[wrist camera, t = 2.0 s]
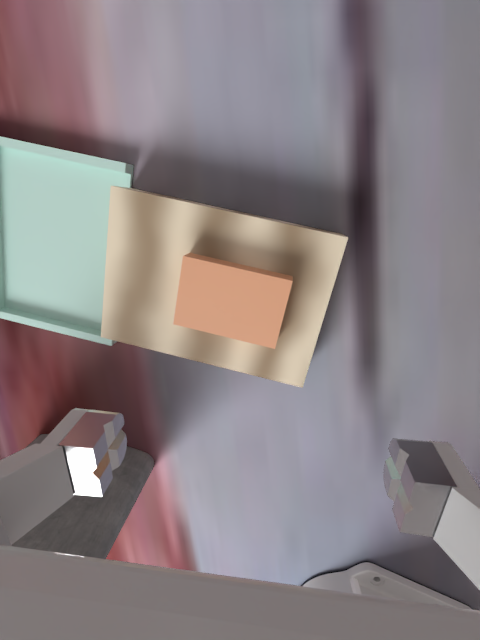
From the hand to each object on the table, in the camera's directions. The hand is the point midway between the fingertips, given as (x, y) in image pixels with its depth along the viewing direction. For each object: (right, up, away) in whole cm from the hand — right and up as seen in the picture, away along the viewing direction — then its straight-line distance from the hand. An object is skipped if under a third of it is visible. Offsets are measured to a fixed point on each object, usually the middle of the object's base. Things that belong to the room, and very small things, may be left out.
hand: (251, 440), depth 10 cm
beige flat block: (-2, +7, +23) cm, 25 cm away
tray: (-19, +11, +24) cm, 33 cm away
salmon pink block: (-1, +6, +19) cm, 20 cm away
